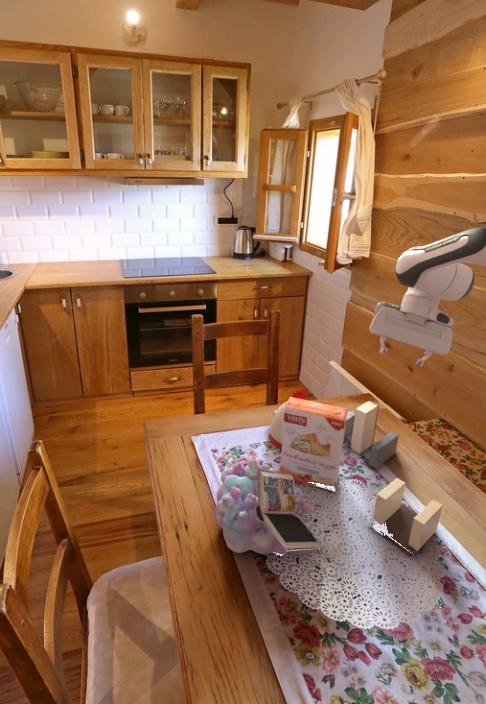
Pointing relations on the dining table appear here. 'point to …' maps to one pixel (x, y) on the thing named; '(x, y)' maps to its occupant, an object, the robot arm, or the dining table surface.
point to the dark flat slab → (401, 529)
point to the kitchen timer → (281, 420)
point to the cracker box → (312, 441)
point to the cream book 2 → (425, 524)
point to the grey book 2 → (383, 449)
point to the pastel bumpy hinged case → (262, 510)
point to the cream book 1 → (389, 501)
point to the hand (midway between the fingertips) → (400, 359)
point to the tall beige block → (364, 426)
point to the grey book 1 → (349, 423)
